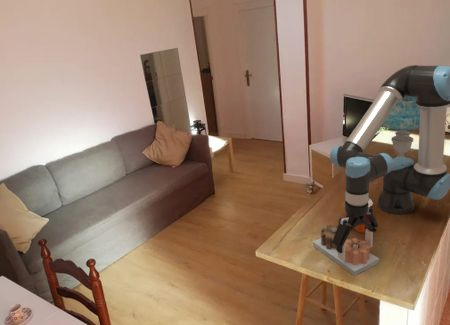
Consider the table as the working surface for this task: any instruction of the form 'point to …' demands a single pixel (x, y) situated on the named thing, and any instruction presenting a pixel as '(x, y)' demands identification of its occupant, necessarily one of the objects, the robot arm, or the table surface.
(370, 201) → the paper cup
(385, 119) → the robot arm
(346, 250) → the gear
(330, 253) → the gear board
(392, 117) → the table lamp
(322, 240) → the gear
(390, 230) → the table surface
